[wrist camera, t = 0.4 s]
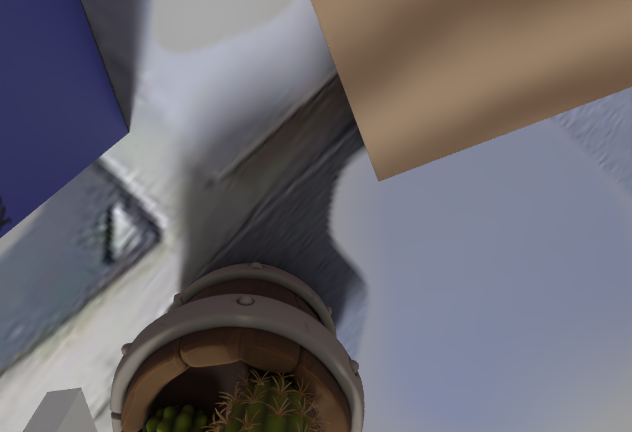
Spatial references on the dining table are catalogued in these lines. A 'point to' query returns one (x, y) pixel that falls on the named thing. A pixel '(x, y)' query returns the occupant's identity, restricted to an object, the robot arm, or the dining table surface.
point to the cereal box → (50, 103)
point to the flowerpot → (239, 361)
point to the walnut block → (469, 68)
